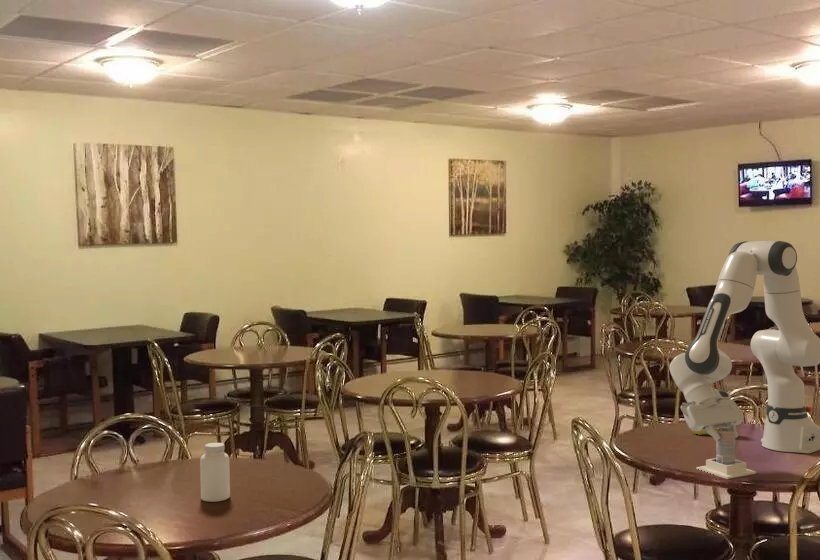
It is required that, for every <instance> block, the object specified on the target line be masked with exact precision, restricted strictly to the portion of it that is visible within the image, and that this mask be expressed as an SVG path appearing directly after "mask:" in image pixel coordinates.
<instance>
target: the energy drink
mask: <svg viewBox="0 0 820 560" xmlns="http://www.w3.org/2000/svg"><path fill="white" fill-rule="evenodd" d="M717 433H720V435H721V436H722V439H721V440H720V441H715V444H716V445H715V453H716V454H715V456H716V457H715V458H716V462H718V463H721V464H725V465H730V464H735V459H736V438H735V430H733V429H728V428H727V427H721V428H718V429H717Z"/></svg>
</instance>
